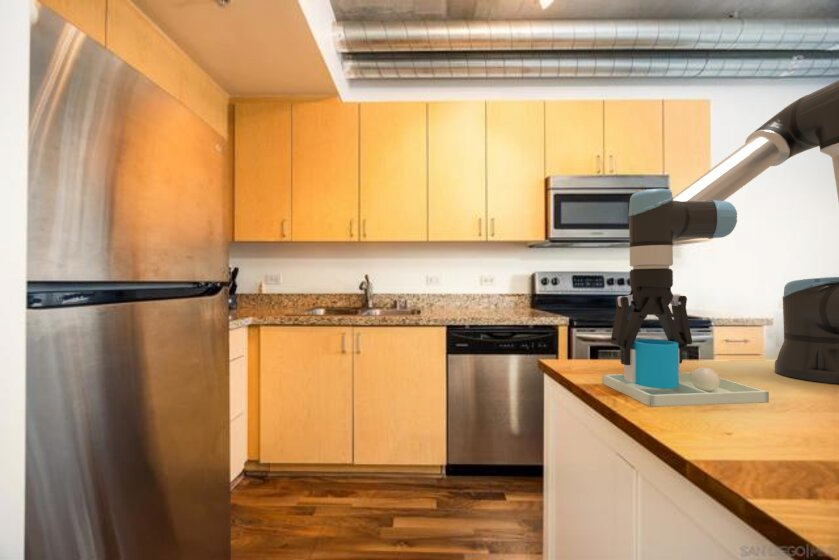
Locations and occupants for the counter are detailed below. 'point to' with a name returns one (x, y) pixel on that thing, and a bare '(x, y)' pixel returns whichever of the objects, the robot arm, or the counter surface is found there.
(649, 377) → the mug
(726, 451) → the counter surface
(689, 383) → the grey-green flat rectangular tray
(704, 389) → the egg
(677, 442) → the counter surface
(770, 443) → the counter surface
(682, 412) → the counter surface
